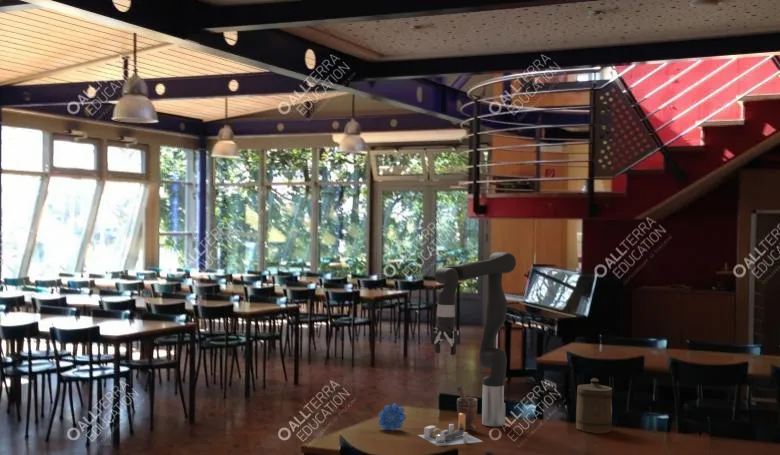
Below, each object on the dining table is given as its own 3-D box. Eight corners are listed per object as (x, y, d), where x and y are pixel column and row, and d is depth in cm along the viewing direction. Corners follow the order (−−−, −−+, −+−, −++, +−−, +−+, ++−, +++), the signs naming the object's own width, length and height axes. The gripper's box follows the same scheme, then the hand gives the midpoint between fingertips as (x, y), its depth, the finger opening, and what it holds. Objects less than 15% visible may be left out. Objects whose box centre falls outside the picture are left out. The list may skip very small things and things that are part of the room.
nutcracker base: (461, 434, 325) (461, 419, 326) (483, 444, 309) (483, 429, 309) (417, 437, 317) (417, 423, 318) (438, 449, 301) (438, 433, 301)
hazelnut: (439, 436, 315) (439, 426, 315) (444, 439, 311) (444, 429, 312) (430, 437, 314) (430, 427, 314) (434, 440, 310) (435, 429, 310)
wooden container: (618, 431, 337) (619, 379, 337) (595, 435, 329) (596, 382, 329) (592, 424, 349) (592, 374, 350) (568, 428, 341) (569, 376, 341)
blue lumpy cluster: (407, 430, 330) (407, 401, 330) (404, 434, 323) (405, 405, 323) (379, 429, 331) (380, 400, 332) (376, 432, 325) (377, 403, 325)
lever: (441, 443, 302) (442, 421, 302) (432, 441, 305) (432, 420, 305) (467, 434, 318) (467, 413, 318) (458, 432, 320) (458, 412, 320)
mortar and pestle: (475, 435, 324) (475, 386, 325) (454, 433, 326) (455, 385, 327) (477, 428, 336) (478, 381, 336) (457, 427, 337) (458, 380, 338)
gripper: (464, 316, 329) (464, 355, 328) (439, 313, 339) (438, 351, 338) (452, 317, 323) (451, 356, 323) (427, 314, 334) (426, 352, 333)
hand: (445, 354), depth 331 cm, fingers open, 8 cm apart
